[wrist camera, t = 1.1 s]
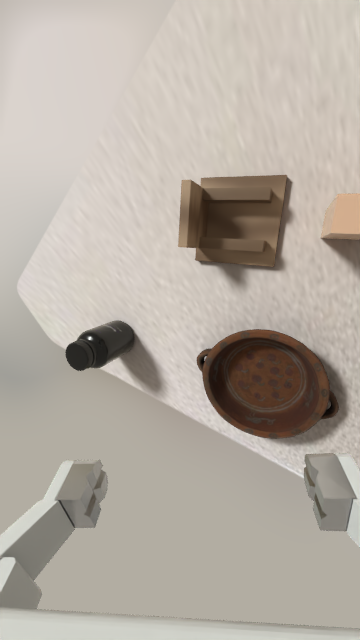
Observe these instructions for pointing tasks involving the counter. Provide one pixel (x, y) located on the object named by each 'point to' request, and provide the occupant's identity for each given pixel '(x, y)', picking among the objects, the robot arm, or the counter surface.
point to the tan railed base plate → (232, 218)
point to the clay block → (343, 218)
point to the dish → (266, 384)
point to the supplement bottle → (100, 345)
